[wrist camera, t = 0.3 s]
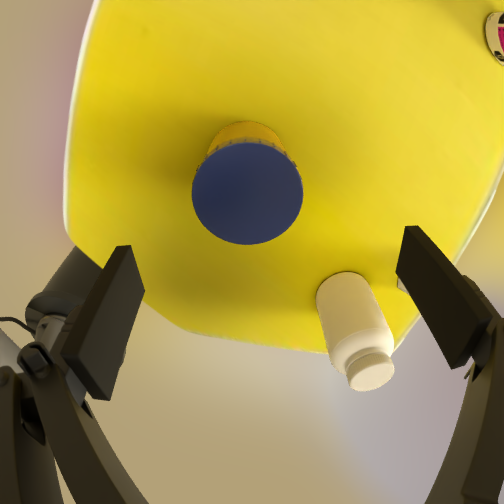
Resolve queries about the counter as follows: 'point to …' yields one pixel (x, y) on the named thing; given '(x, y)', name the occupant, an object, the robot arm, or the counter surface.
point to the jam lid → (247, 191)
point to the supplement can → (496, 35)
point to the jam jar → (245, 133)
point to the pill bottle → (355, 331)
